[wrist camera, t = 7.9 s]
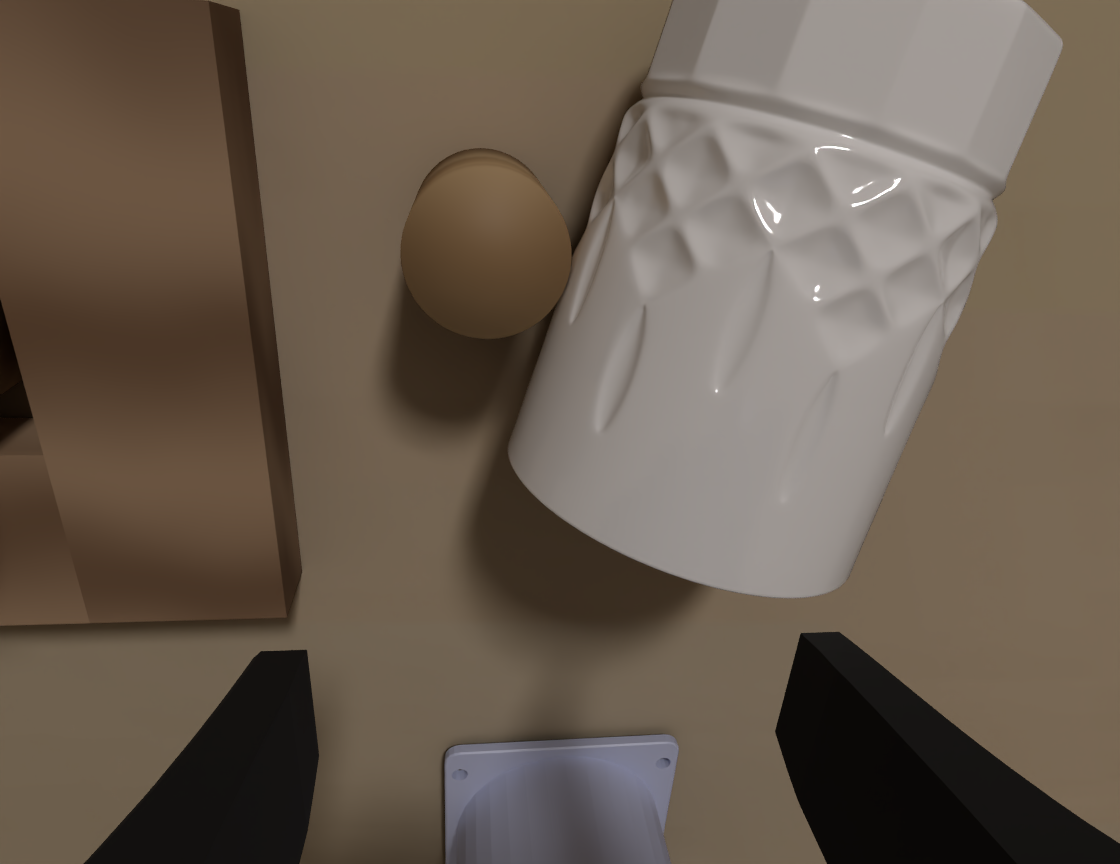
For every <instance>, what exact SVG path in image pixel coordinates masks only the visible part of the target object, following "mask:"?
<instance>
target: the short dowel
mask: <svg viewBox="0 0 1120 864" xmlns="http://www.w3.org/2000/svg"><path fill="white" fill-rule="evenodd" d="M401 264H402V270H403V274H404V278H405V281H406V283H407V286H408V288H409V290H410V292H411V294H412V296H413V298H414V299H415V300H416V302H417V303H418V305H419V306H420V307H421V308H422V309H423V311H424V312H425V313H426V314H427V315H428V316H429V317H431V318H432V319H433V320H434V321H435V322H437V323H438V324H440V325H441V326H443V327H444V328H446V329H448V330H450V331H452V332H455V333H457V334H460V335H463V336H467V337H472V338H478V339H498V338H503V337H508V336H512V335H515V334H518V333H520V332H522V331H525V330H527V329H529V328H530V327H532V326H533V325H535V324H537V323H538V322H539V321H540V320H542V319H543V318H544V317H545V316H546V315H547V314H548V313H549V312H550V311H551V310H552V309H553V307H554V306H555V304H556V303H557V302H558V300H559V298H560V297H561V295H562V293H563V291H564V289H565V286H566V284H567V281H568V277H569V273H570V268H571V243H570V237H569V233H568V229H567V226H566V224H565V221H564V219H563V217H562V215H561V213H560V211H559V210H558V208H557V206H556V205H555V203H554V202H553V201H552V199H551V198H550V196H549V195H548V194H547V192H546V191H545V189H544V188H543V186H542V185H541V184H540V182H539V181H538V179H537V178H536V177H535V175H534V174H533V173H532V172H531V171H530V170H529V169H528V168H527V167H526V166H525V165H524V164H523V163H521V162H520V161H519V160H517V159H516V158H514V157H512V156H510V155H508V154H506V153H503V152H500V151H497V150H493V149H484V148H478V149H468V150H464V151H460V152H457V153H455V154H453V155H451V156H448V157H447V158H445V159H444V160H442V161H441V162H439V163H438V164H437V165H436V166H435V167H434V168H433V169H432V170H431V171H430V172H429V174H428V175H427V176H426V178H425V179H424V181H423V183H422V185H421V187H420V189H419V191H418V194H417V196H416V199H415V201H414V203H413V206H412V208H411V211H410V213H409V216H408V218H407V221H406V223H405V227H404V230H403V234H402V240H401Z"/></svg>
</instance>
